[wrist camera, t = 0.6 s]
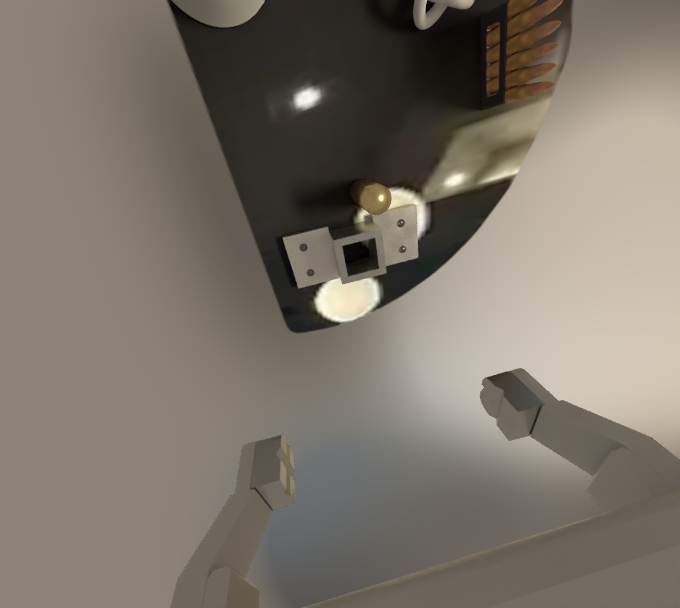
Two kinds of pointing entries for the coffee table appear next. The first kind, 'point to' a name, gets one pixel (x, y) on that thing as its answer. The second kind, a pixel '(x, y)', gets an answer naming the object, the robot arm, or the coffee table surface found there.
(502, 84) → the ammunition clip
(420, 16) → the knot
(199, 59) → the coffee table surface
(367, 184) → the hinge pin
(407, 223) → the hinge
